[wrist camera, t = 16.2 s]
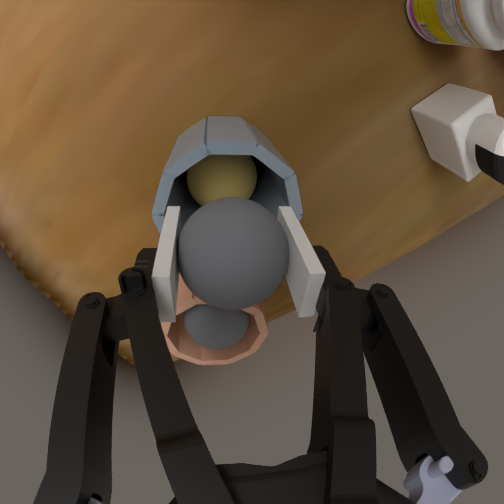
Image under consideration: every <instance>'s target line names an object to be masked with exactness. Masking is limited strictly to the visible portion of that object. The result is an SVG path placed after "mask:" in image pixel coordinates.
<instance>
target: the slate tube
mask: <svg viewBox="0 0 504 504" xmlns="http://www.w3.org/2000/svg"><path fill="white" fill-rule="evenodd" d="M208 155H253V156H255V157H256V158H257V159H259V160H260V161H261V162H262V163H264V164H265V165H266V167H265V169H264V172H263V174H262V176H261V178H260V181H259V183H258V185H257V187H256V190H254V192H253V194H252V195H251V197H250V198H249V199H248V200H251V201H254V202H256V203H258V204H260V205H262V206H263V207H265V208H266V209H268V210H269V211H270V212H271V213H272V214H273V215H274V216H275V217H276V218H277V215H278V208H279V206H291V208H292V210H293V212H294V214H295V215H296V217H297V219H298V221H299V222H300V220H301V218H302V214H303V210H302V205H301V199H300V193H299V188H298V183H297V177H296V174H295V173H294V171H293V169H292V168H291V167H290V165H289V164H288V163H287V161H286V160H285V159H284V158H283V156H282V155H281V154H280V152H279V151H278V150H277V149H276V147H275V146H274V145H273V144H272V142H271V141H270V140H269V139H268V137H267V136H266V135H264V134H263V133H262V132H261V131H259V130H258V129H257V128H256V127H254V126H253V125H252V124H250V123H249V122H248V121H247V120H245V119H244V118H241V117H236V116H208V119H207V118H206V117H204V118H203V119H201V120H200V121H199V122H197V123H196V124H194V125H193V126H191V127H190V128H188V129H187V130H186V131H184V132H183V133H181V134H180V135H179V137H178V138H177V140H176V143H175V145H174V147H173V149H172V152H171V154H170V156H169V159H168V161H167V163H166V166H165V168H164V171H163V173H162V176H161V180H160V183H159V187H158V191H157V194H156V198H155V202H154V205H153V209H152V213H151V214H152V219H153V221H154V223H155V225H156V227H157V229H158V232H159V234H160V235H161V231H162V227H163V223H164V219H165V215H166V211H167V207H168V206H180V213H181V230H182V228H183V226H184V225H185V223H186V222H187V220H188V219H189V217H190V216H191V215H192V214H193V213H194V212H195V211H197V210H198V209H199V208H200V207H202V206H201V205H200V204H199V203H197V202H196V200H195V199H194V198H193V197H192V195H191V193H190V192H189V191H188V190H186V187H185V185H184V182H183V179H182V177H181V174H182V173H183V172H184V171H186V170H187V169H189V168H190V167H191V166H193V165H194V164H196V163H197V162H199V161H200V160H202V159H203V158H205V157H206V156H208Z"/></svg>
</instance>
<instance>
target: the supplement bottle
mask: <svg viewBox="0 0 504 504" xmlns="http://www.w3.org/2000/svg"><path fill="white" fill-rule="evenodd" d="M406 11H407V15H408V18H409V21H410V23H411V25H412V27H413V28H414V29H415V31H416V32H417V33H418V34H419V35H420V36H421V37H423V38H424V39H425V40H427V41H429V42H432V43H437V44H449V45H460V46H469V47H477V48H483V49H489V50H495V51H499V50H503V49H504V0H407V3H406Z"/></svg>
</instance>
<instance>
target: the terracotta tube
mask: <svg viewBox="0 0 504 504" xmlns="http://www.w3.org/2000/svg"><path fill="white" fill-rule="evenodd" d="M196 304H207V303H205V302H203V301H202V300H200V299H199V298H198V297H196V296H195V295H194V294H193V293H192V292H191V291H190V290H189V288H188V287H187V286H186V284H185V283H184V281H183V279H182V277H181V275H180V272H179V283H178V295H177V308H176V322H160V323H161V326H162V330H163V333H164V336H165V339H166V342H167V346H168V349H169V351H170V353H171V354H173V355H174V356H176V357H179V358H181V359H184V360H187V361H190V362H193V363H195V364H200V365H219V364H229V363H234V362H236V361H238V360H240V359H243V358H245V357H247V356H249V355H251V354H254V353H255V352H257V350H258V349H259V347H260V346H261V344H262V343H263V341H264V340H265V338H266V337H267V336H268V334H269V333H268V332H269V330H268V326H267V321H266V317H265V312H264V308H263V303H262V302H260V303H259V304H257V305H255V306H252V307H249V308H245V309H241V310H243V311H245V312H247V313H249V314H250V322H249V326H248V329H247V331H246V333H245V335H244V336H243V338H242V339H241V340H240V341H239V342H237V343H236V344H235V345H233V346H231V347H228V348H225V349H218V350H217V349H209V348H206V347H203V346H201V345H199V344H198V343H197V342H195V341H194V340H193V339H192V338H191V337H190V335H189V334H188V332H187V330H186V327H185V324H184V318H183V314H184V311H185V310H187V309H189V308H191V307H193V306H194V305H196Z"/></svg>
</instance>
